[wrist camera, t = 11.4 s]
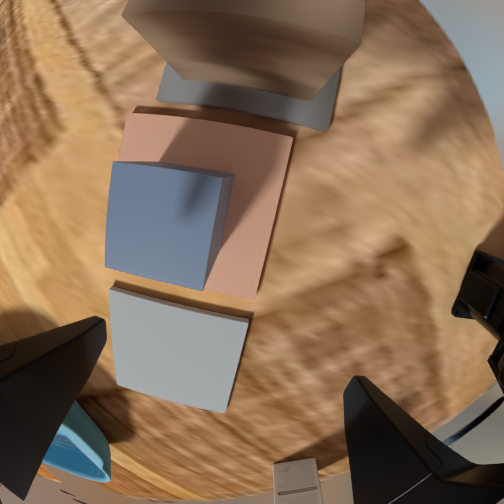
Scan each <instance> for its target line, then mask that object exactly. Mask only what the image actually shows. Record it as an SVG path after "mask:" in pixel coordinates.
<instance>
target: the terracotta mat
mask: <svg viewBox="0 0 504 504" xmlns="http://www.w3.org/2000/svg"><path fill="white" fill-rule="evenodd" d="M292 141H293V137H289V136H285V135H281V134H277V133H273V132H268V131H264V130H259V129H254V128H249V127H244V126H238V125H233V124H227V123H221V122H215V121H208V120H201V119H194V118H186V117H177V116H167V115H155V114H141V113H128V114H127V118H126V123H125V127H124V132H123V137H122V142H121V148H120V153H119V159H118V161H154V162H165V163H172V164H179V165H185V166H191V167H197V168H203V169H209V170H214V171H220V172H225V173H230V174H235V176H234V181H233V186H232V191H231V195H230V200H229V205H228V210H227V215H226V221H225V226H224V231H223V236H222V241H221V247H220V251H219V254H218V256H217V258H216V261H215V263H214V265H213V268H212V270H211V273H210V275H209V277H208V280H207V282H206V284H205V287H204V289H206V290H211V291H216V292H220V293H225V294H230V295H234V296H239V297H244V298H249V299H254V300H255V296H256V292H257V288H258V284H259V280H260V276H261V272H262V268H263V264H264V260H265V255H266V251H267V247H268V243H269V239H270V235H271V231H272V226H273V222H274V218H275V214H276V210H277V206H278V201H279V197H280V193H281V189H282V184H283V180H284V176H285V171H286V167H287V163H288V158H289V154H290V150H291V145H292Z"/></svg>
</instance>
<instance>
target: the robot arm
mask: <svg viewBox="0 0 504 504" xmlns="http://www.w3.org/2000/svg"><path fill="white" fill-rule="evenodd" d="M478 255H479V256H478ZM451 313H452V315H453V316H454V317H459V318H467V319H475V320H476V321H478V322H479V323H480V324H481V325H482V326H483V327H484V328H485V329H486V330H487V331H489V332H490V333H491V334H492V335H493V336H494V337H495V338H496V339H497V340H498V343H497V345H496V347H495V349H494V351H493V353H492V355H490V357H489V358H488V360H487V361H488V363H489V365H490V367H491V369H492V371H493V373H494V375H495V377H496V379H497V381H498V383H499V385H500V387H501V389H502V391H503V394H504V261H503V260H501V259H498V258H496V257H494V256H492V255H489V254H487V253H485V252H482V251H480V250H477V251H476V252H475V253H474V256H473V259H472V262H471V265H470V267H469V270H468V273H467V276H466V278H465V281H464V283H463V286H462V288H461V291H460V293H459V295H458V298H457V300H456V302H455V305H454V307H453V309H452V312H451ZM106 340H107V332H106V321H105V320H104V319H103V318H100V317H98V316H92V317H89V318H86V319H83V320H80V321H77V322H74V323H71V324H68V325H65V326H62V327H59V328H55V329H52V330H49V331H46V332H43V333H40V334H37V335H34V336H30V337H27V338H24V339H21V340H18V341H15V342H11V343H8V344H5V345H1V346H0V486H1V484H2V485H4V486H5V487H6V488H7V489H8V490H10V491H11V492H12V493H14V494H15V495H16V496H18V497H19V498H20V499H22V500H23V501H24V500H25V498H26V496H27V493H28V491H29V489H30V487H31V484H32V482H33V480H34V478H35V476H36V474H37V471H38V469H39V467H40V465H41V463H42V461H43V459H44V457H45V455H46V453H47V451H48V449H49V447H50V445H51V443H52V441H53V439H54V437H55V435H56V434H57V432H58V430H59V428H60V426H61V424H62V423H63V421H64V419H65V417H66V415H67V414H68V412H69V410H70V408H71V407H72V405H73V403H74V402H75V400H76V398H77V397H78V395H79V393H80V391H81V390H82V388H83V387H84V385H85V383H86V382H87V380H88V378H89V377H90V375H91V373H92V371H93V369H94V367H95V364H96V362H97V360H98V358H99V356H100V354H101V352H102V350H103V348H104V346H105V344H106ZM343 401H344V425H345V435H346V442H347V449H348V456H349V464H350V472H351V481H352V490H353V500H354V504H504V463H500V464H486V465H480V464H475V463H472V462H470V461H468V460H467V459H465V458H464V457H462V456H461V455H459V454H458V453H456V452H454V451H453V450H452V449H450V448H449V447H448V446H446V445H445V444H444V443H442V442H441V441H439V440H438V439H437V438H436V437H435V436H433V435H432V434H431V433H430V432H429V431H427V430H426V429H424V427H423V426H421V425H420V424H419V423H418V422H417V421H416V420H414V419H413V418H412V417H411V416H410V415H409V414H407V413H406V412H405V411H404V410H403V409H402V408H401V407H399V406H398V405H397V404H396V403H395V402H394V401H392V400H391V399H390V398H389V397H388V396H387V395H386V394H384V393H383V392H382V391H381V390H380V389H379V388H378V387H376V386H375V385H374V384H373V383H372V382H371V381H370V380H369V379H367V378H366V377H365V376H358V375H356V376H354V377H353V378H352V379H351V381H350V382H349V384H348V386H347V387H346V389H345V391H344V394H343ZM0 504H2V502H1V500H0Z"/></svg>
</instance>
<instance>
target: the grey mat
mask: <svg viewBox="0 0 504 504" xmlns="http://www.w3.org/2000/svg"><path fill="white" fill-rule="evenodd" d="M109 302H110V322H111V336H112V347H113V357H114V365H115V373H116V380H117V385H120V386H123V387H126V388H129V389H131V390H134V391H138V392H141V393H144V394H147V395H150V396H154V397H157V398H161V399H164V400H168V401H172V402H176V403H180V404H184V405H188V406H192V407H197V408H201V409H206V410H211V411H216V412H221V413H225V411H226V408H227V404H228V400H229V396H230V393H231V389H232V385H233V381H234V378H235V374H236V370H237V366H238V362H239V359H240V355H241V351H242V347H243V343H244V339H245V335H246V331H247V327H248V324H249V319H246V318H241V317H236V316H231V315H227V314H222V313H217V312H212V311H208V310H203V309H199V308H195V307H190V306H186V305H182V304H178V303H174V302H170V301H166V300H162V299H158V298H154V297H150V296H146V295H143V294H139V293H135V292H132V291H128V290H124V289H121V288H118V287H114V286H112V287H111V288H110V289H109Z"/></svg>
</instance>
